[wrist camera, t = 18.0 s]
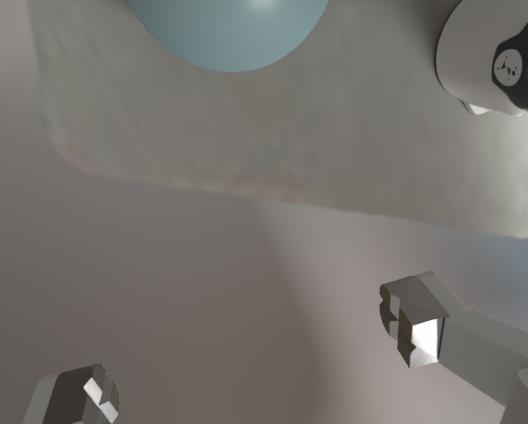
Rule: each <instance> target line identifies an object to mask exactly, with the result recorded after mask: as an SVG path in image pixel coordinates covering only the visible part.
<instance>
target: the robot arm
mask: <svg viewBox="0 0 528 424" xmlns="http://www.w3.org/2000/svg"><path fill="white" fill-rule="evenodd" d="M436 68H437V73H438V77H439V80H440V82H441V84H442V86H443V87H444V88H445V89H446V91H447V92H449V93H450V94H451V95H453V96H455V97H457V98H459V99H460V100H462V101H463V102H464V104H465V106H466V108H467V109H468V111H469V112H470V113H473V114H477V115H479V114H482V113H485V112H487V111H489V110H491V111H495V112H499V113H503V114H507V115H510V116H521V114H524V113H527V112H528V0H462V1H461V3H460V4H459V5H458V6H457V7H456V9H455V10H454V11H453V13H452V14H451V16H450V17H449V19H448V21H447V23H446V24H445V27H444V29H443V31H442V33H441V36H440V39H439V43H438V47H437V54H436ZM380 296H381V297H382V299H383V301H382V302H381V303H380V305H379V306H380V316H381V319H382V323H383V325H384V327H385V329H386V331H387V333H388V334H389V336H391V337H392V338H394V339H396V340H398V342H397V343H398V345H397V349H398V351H399V352H400V354H401V356H402V357H403V359H404V360H405V362H406V364H407V365H408V367H409V368H414V367H417V366H421V365H425V364H429V363H433V362H436V361H439V363H440V364H442V365H443V366H444V367H446V368H447V369H449V370H450V371H452V372H453V373H455V374H456V375H458V376H460V377H461V378H462V379H464V380H466V381H467V382H469V383H470V384H471V385H473V386H474V387H476V388H477V389H479V390H480V391H482V392H483V393H485V394H487V395H488V396H489V397H491V398H492V399H494V400H495V401H497V402H498V403H500V404H502V405H503V406H505V410H504V413H503V416H502V419H501V421H500V424H528V333H527V332H525V331H523V330H520V329H518V328H515V327H513V326H511V325H509V324H506V323H504V322H502V321H499V320H497V319H494V318H492V317H490V316H488V315H485V314H483V313H481V312H478V311H476V310H470V311H468V310H467V308H465V306H464V305H463V304H462V303H461V302H460V301H459V300H458V299H457V298H456V297H455V296H454V294H453V293H452V292H451V291H450V290H449V289H448V288H447V287H446V286H445V285H444V283H443V282H442V281H441V280H440V279H439V278H438V277H437V276H436V275H435V274H434V273H433V272H431V271H428V272H424V273H421V274H417V275H414V276H409V277H406V278H402V279H399V280H396V281H392V282H389V283H385V284H382V285H381V286H380ZM105 375H106V369H105V368H104V366H103V365H102V364H101V363H99V364H94V365H90V366H86V367H82V368H78V369H74V370H70V371H66V372H62V373H58V374H54V375H51V376H47V377H43V378H42V379H41V380H40V381H39V382H38V384H37V386H36V389H35V391H34V394H33V397H32V400H31V403H30V405H29V408H28V411H27V413H26V416H25V419H24V421H23V424H112V422H113V421H114V420H115V418H116V417H117V415H118V414H119V406H120V401H119V400H120V399H119V391H118V388H117V385H116V383H115V382H114V380H113V379H110V378H107V377H105Z"/></svg>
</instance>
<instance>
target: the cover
mask: <svg viewBox="0 0 528 424" xmlns="http://www.w3.org/2000/svg"><path fill="white" fill-rule="evenodd" d="M127 1H128V3H129V5H130V7H131V8H132V10H133V11H134V13H135V15H136V16H137V18H138V19H139V20H140V22H141V23H142V24H143V25H144V27H145V28H146V29H147V30H148V32H149V33H150V34H151V35H152V36H153V37H154V38H155V39H156V40H157V41H158V42H159V43H160V44H162V45H163V46H164V47H166V48H167V49H168V50H169V51H171V52H172V53H173V54H175V55H177V56H178V57H180V58H182V59H183V60H185V61H187V62H190V63H192V64H194V65H196V66H199V67H202V68H206V69H209V70H214V71H221V72H243V71H251V70H254V69H258V68H262V67H264V66H267V65H269V64H271V63H274V62H276V61H277V60H279V59H281V58H282V57H284V56H286V55H287V54H288V53H290V52H291V51H292V50H293V49H295V48H296V47H297V46H298V45H299V44H300V43H301V42H302V41H303V40H304V39H305V38H306V37H307V36H308V34H309V33H310V32H311V31H312V29H313V28H314V27H315V25H316V24H317V22H318V20H319V19H320V17H321V16H322V14H323V12H324V10H325V8H326V6H327V3H328V1H329V0H127Z"/></svg>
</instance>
